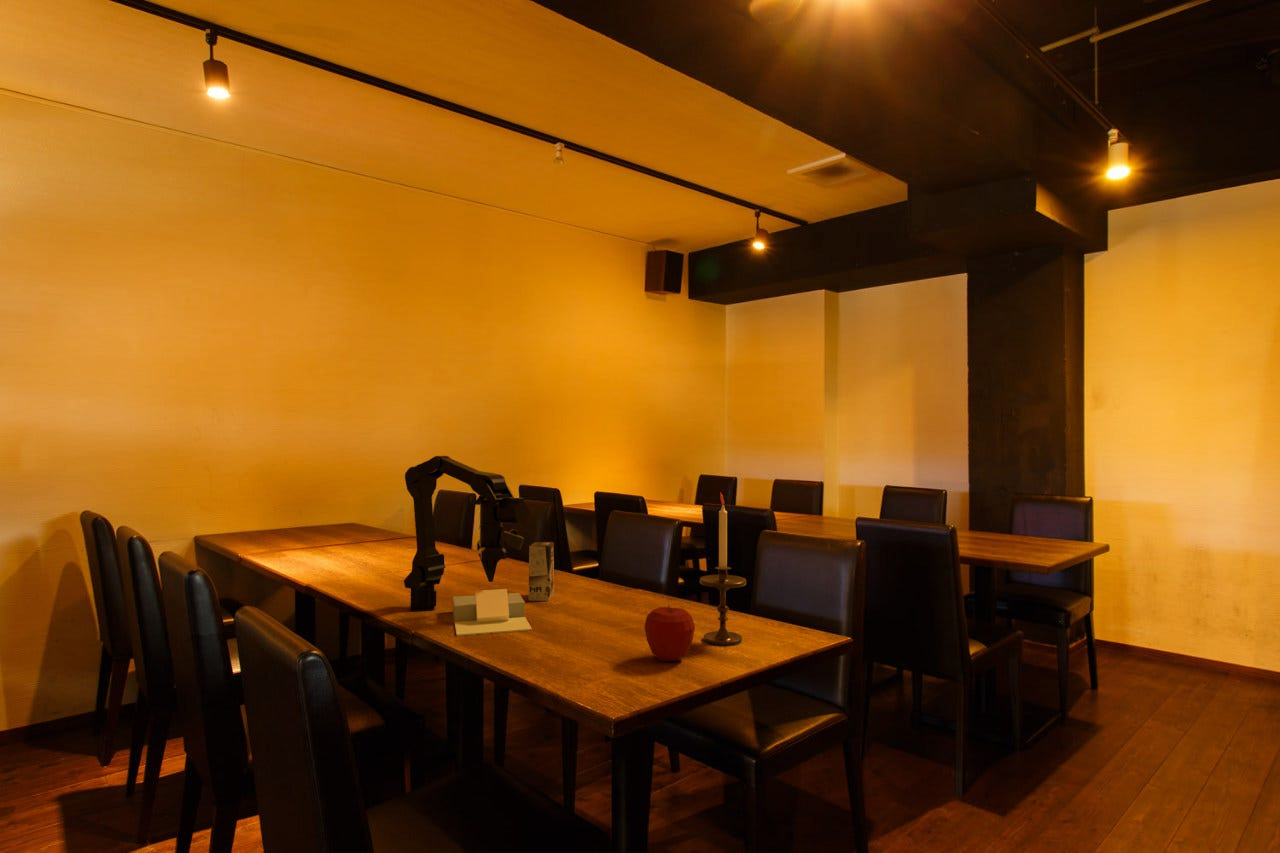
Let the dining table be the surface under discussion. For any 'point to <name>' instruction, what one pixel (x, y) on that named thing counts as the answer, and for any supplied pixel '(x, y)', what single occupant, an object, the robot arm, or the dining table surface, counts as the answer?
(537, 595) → the coffee box
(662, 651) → the apple
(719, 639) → the candlestick
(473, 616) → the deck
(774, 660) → the dining table surface
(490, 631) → the mat
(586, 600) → the dining table surface
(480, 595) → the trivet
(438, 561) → the robot arm
